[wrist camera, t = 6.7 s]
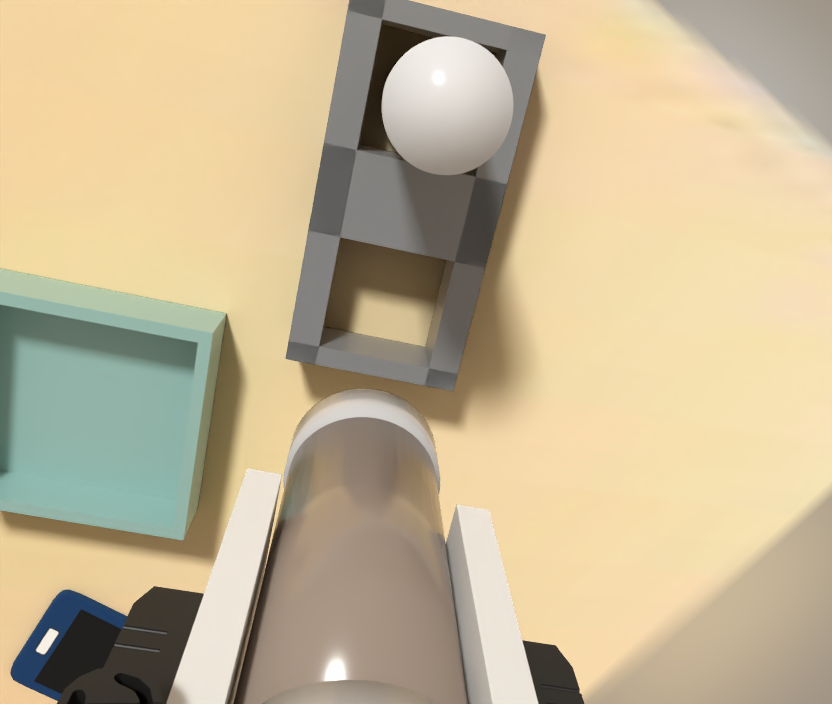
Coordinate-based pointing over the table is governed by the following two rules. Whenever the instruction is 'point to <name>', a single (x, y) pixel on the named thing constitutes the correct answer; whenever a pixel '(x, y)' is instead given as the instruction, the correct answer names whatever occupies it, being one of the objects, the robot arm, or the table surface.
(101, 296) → the parts tray
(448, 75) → the white rounded cylinder
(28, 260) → the table surface
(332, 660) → the fuse
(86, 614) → the cell phone
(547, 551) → the table surface
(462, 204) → the block
